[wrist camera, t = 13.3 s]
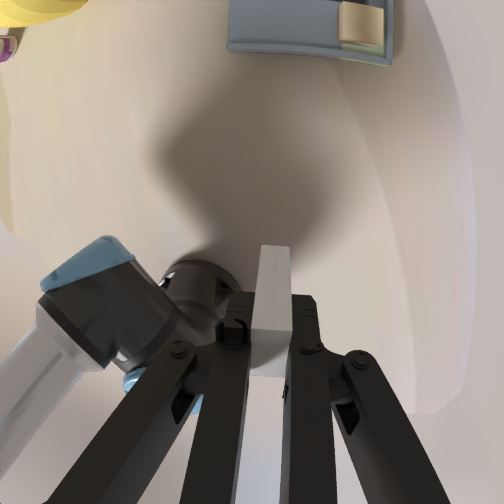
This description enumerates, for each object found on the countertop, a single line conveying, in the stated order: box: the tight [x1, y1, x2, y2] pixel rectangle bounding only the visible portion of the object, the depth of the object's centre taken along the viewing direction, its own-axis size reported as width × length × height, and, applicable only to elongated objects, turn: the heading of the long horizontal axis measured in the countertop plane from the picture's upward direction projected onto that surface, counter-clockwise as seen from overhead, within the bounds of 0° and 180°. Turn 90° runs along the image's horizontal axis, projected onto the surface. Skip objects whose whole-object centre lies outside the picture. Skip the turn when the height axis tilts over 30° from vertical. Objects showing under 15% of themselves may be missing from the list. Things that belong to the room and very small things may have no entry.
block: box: [337, 1, 383, 48], centre depth 29 cm, size 5×5×4 cm
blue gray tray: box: [226, 0, 393, 67], centre depth 30 cm, size 21×15×4 cm
